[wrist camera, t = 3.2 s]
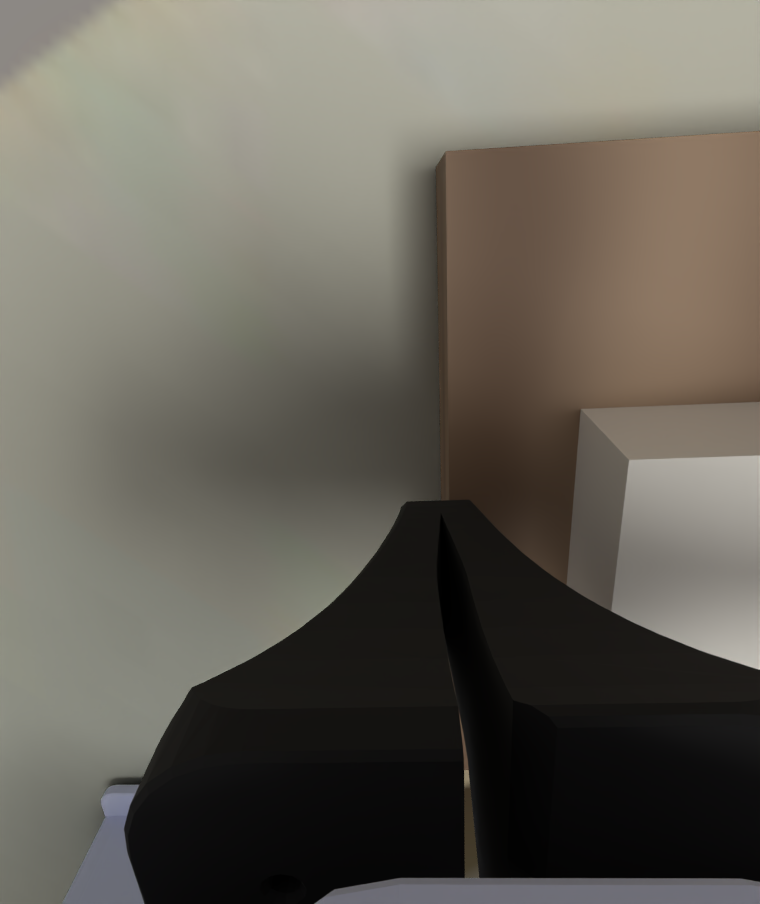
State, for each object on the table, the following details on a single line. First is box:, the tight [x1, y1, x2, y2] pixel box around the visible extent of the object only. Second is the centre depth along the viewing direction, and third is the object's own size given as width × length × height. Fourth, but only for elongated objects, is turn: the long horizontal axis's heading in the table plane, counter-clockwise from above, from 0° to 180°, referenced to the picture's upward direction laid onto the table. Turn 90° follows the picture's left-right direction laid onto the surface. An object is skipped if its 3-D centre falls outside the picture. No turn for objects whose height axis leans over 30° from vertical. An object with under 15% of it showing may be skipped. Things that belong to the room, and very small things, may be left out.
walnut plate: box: [436, 131, 760, 770], centre depth 13 cm, size 14×14×3 cm
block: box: [567, 402, 760, 670], centre depth 10 cm, size 5×5×2 cm
